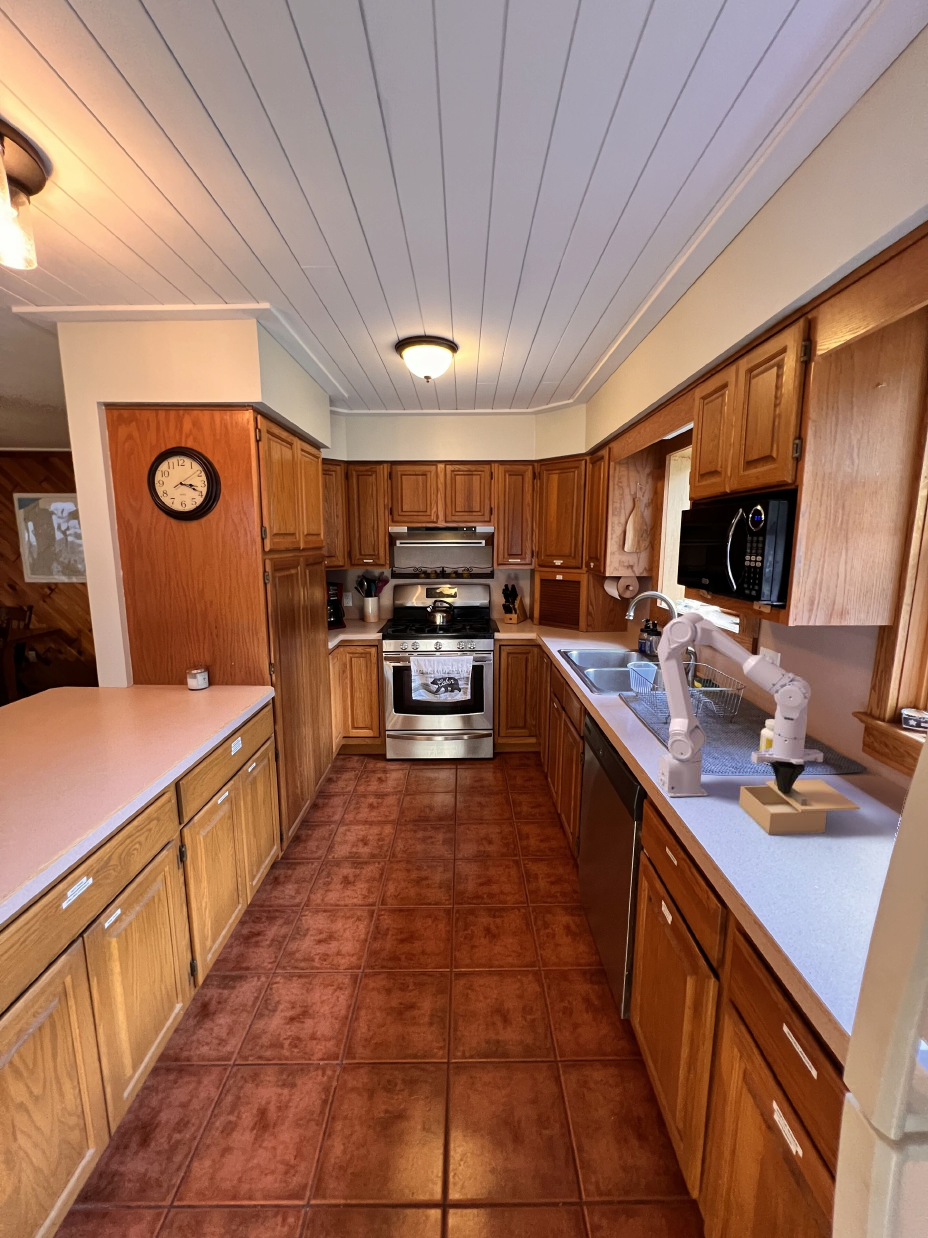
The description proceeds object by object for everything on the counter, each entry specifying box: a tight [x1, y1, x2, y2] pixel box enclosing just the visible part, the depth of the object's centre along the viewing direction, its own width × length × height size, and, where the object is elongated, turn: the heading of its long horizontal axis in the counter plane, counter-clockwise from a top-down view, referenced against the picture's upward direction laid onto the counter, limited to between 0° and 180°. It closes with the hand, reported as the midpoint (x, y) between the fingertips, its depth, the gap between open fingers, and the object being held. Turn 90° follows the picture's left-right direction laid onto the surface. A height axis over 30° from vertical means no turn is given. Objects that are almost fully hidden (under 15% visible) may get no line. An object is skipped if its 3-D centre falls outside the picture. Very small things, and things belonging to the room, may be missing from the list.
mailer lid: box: [766, 777, 861, 812], centre depth 109 cm, size 13×12×2 cm
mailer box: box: [738, 784, 828, 836], centre depth 110 cm, size 12×11×5 cm
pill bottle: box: [759, 718, 775, 766], centre depth 135 cm, size 6×6×12 cm
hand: (783, 791), depth 109 cm, fingers closed
